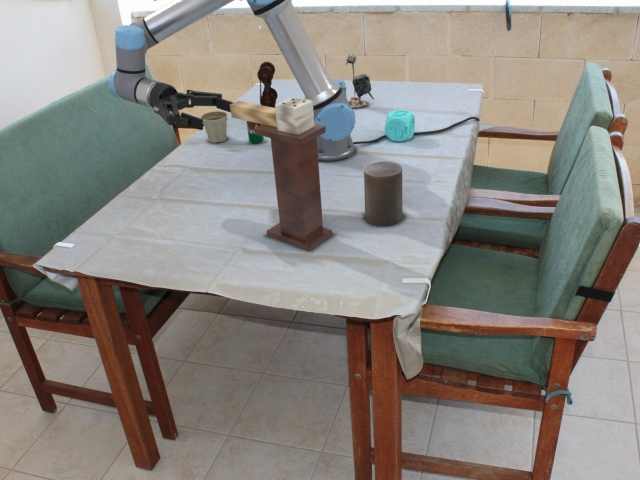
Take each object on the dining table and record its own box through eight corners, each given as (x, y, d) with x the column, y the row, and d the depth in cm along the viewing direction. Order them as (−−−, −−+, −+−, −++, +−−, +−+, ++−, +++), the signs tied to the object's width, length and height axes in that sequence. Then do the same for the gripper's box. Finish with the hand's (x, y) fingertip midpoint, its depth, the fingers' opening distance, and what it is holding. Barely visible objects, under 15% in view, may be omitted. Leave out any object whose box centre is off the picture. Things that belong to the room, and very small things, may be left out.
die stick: (314, 126, 146) (312, 99, 143) (297, 135, 143) (295, 107, 139) (244, 111, 158) (241, 86, 155) (227, 119, 155) (223, 93, 151)
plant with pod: (371, 109, 240) (370, 54, 229) (341, 108, 243) (339, 54, 232) (375, 102, 246) (374, 48, 236) (346, 101, 249) (344, 48, 239)
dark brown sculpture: (253, 113, 245) (247, 60, 234) (292, 111, 244) (287, 57, 233) (249, 127, 232) (242, 71, 221) (289, 125, 231) (284, 68, 221)
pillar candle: (392, 229, 162) (391, 174, 154) (358, 221, 167) (356, 167, 159) (408, 212, 169) (409, 159, 161) (375, 205, 174) (374, 153, 166)
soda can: (266, 139, 221) (262, 105, 214) (260, 145, 217) (256, 110, 210) (252, 138, 222) (248, 104, 216) (246, 144, 218) (242, 109, 212)
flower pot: (226, 145, 218) (222, 120, 214) (200, 144, 220) (196, 120, 216) (234, 135, 226) (231, 111, 222) (209, 134, 228) (205, 111, 224)
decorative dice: (384, 140, 213) (384, 117, 208) (391, 132, 219) (391, 109, 215) (408, 142, 210) (408, 119, 206) (414, 133, 216) (415, 110, 212)
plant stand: (332, 235, 162) (325, 126, 146) (310, 251, 156) (300, 138, 141) (289, 221, 169) (279, 116, 154) (266, 236, 163) (253, 128, 148)
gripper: (190, 96, 184) (249, 116, 175) (124, 123, 166) (187, 146, 158) (188, 70, 180) (249, 89, 171) (121, 95, 162) (185, 117, 153)
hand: (219, 116), depth 164 cm, fingers open, 13 cm apart
